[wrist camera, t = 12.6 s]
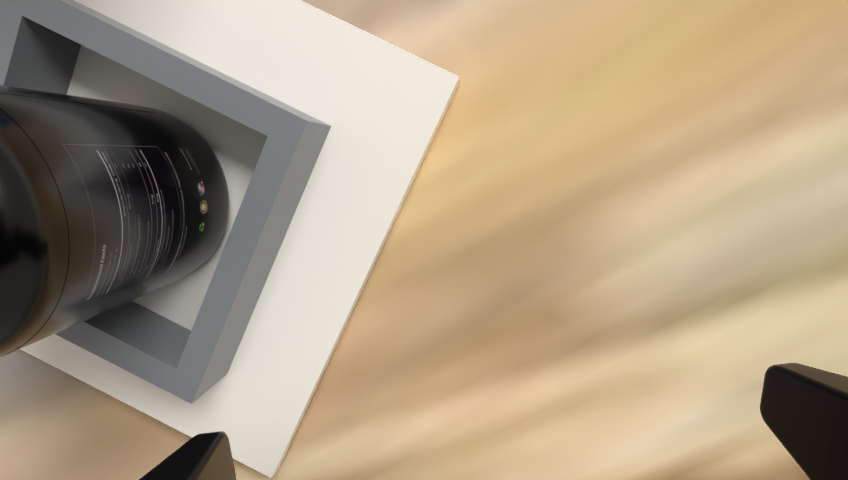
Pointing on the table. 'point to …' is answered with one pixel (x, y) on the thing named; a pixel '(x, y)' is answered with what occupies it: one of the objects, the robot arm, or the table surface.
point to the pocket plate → (241, 195)
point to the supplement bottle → (97, 208)
